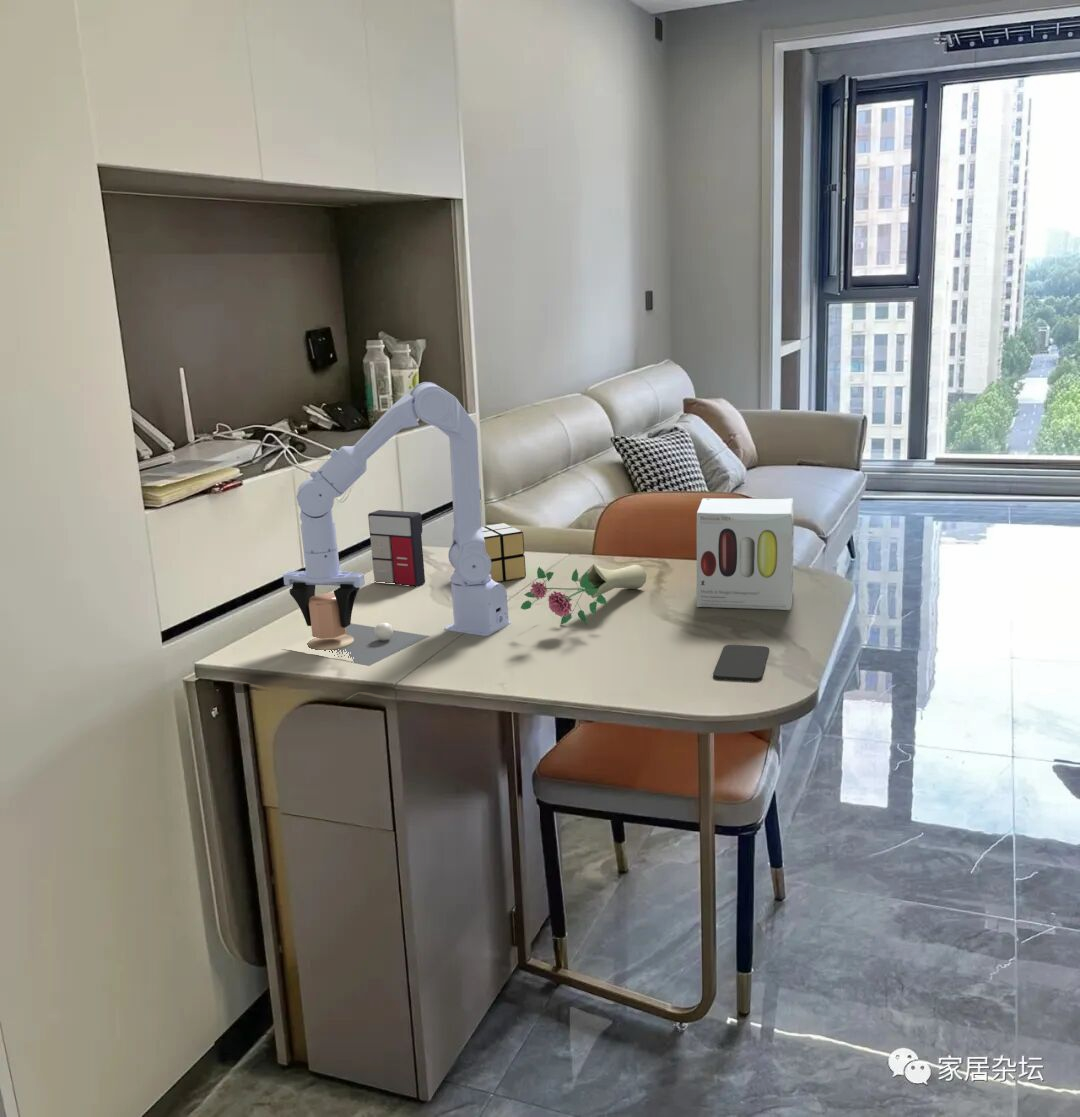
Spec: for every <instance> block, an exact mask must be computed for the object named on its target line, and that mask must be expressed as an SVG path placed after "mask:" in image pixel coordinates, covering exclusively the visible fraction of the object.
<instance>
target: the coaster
mask: <svg viewBox="0 0 1080 1117" xmlns="http://www.w3.org/2000/svg"><path fill="white" fill-rule="evenodd" d="M353 642H354V638H353V637H352V636H350V635H346V634H344V635H341V636H338V637H336V638H326V639H320V638H314V639H312V640H310V641H309V642H308V643H307V645H308V647H309V648H311V649H315V650H324V651H326V650H336V649H341V648H344V647H347V646H349V645H351V644H352V643H353Z"/></svg>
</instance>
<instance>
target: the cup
mask: <svg viewBox="0 0 1080 1117" xmlns="http://www.w3.org/2000/svg"><path fill="white" fill-rule="evenodd" d="M309 610H310V619H311V626H310V627H311V636H313V637H316V638H320V639H326V638H336V637H338V636H341V635H344V634H345V633H346V628H342V626H341V622H340V613H339V607H338V603H337V600H336V597H335V594H334V592H325V593H323V592H322V593H318V594H315V596H312V597H310V599H309Z"/></svg>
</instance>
